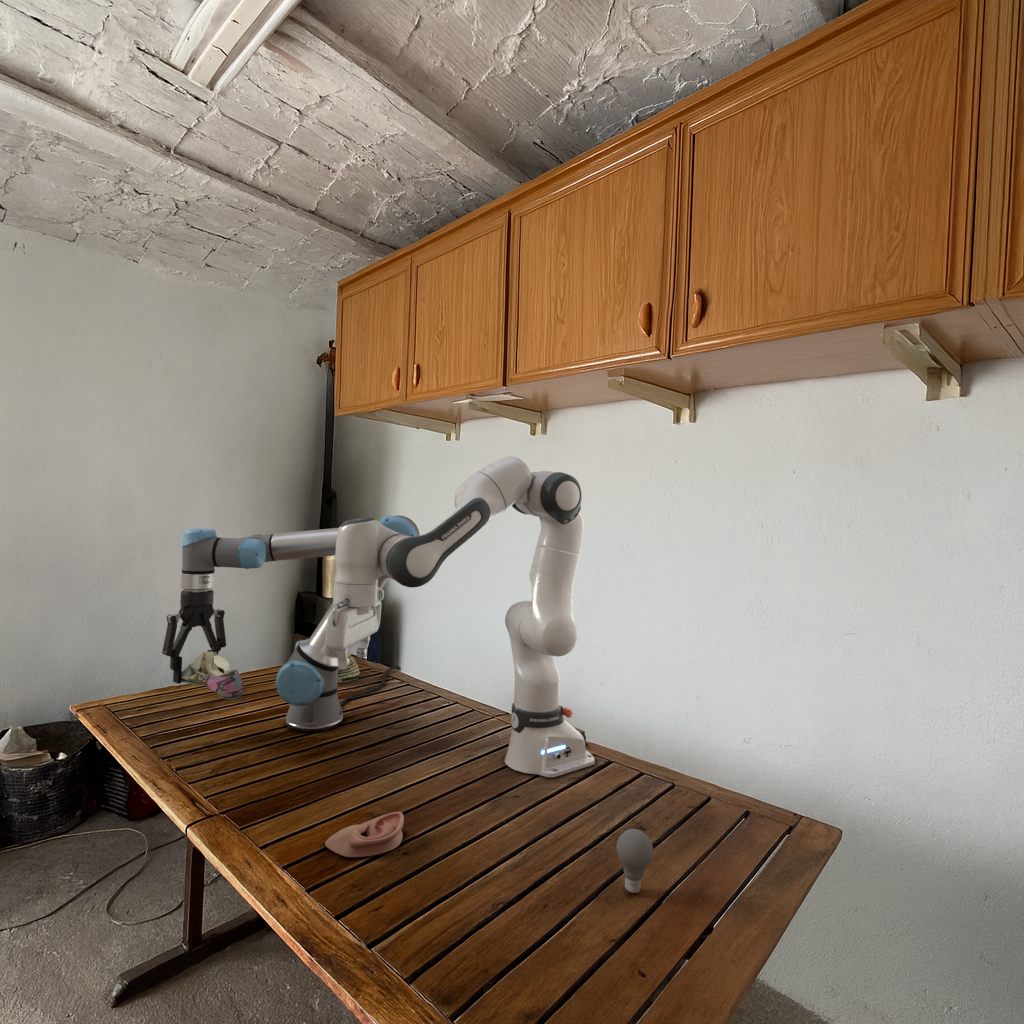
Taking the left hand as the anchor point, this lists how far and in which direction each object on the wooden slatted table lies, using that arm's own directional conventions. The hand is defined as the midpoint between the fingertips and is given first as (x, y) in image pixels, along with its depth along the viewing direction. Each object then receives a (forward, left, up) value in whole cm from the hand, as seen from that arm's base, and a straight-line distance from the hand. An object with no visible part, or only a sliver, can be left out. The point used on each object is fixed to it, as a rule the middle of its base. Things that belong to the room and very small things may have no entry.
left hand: (194, 678), depth 161 cm
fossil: (-55, -19, -15) cm, 61 cm away
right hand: (-6, +56, +14) cm, 58 cm away
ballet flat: (0, +9, -1) cm, 9 cm away
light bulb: (-20, +114, -15) cm, 117 cm away
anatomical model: (+1, +70, -15) cm, 72 cm away
